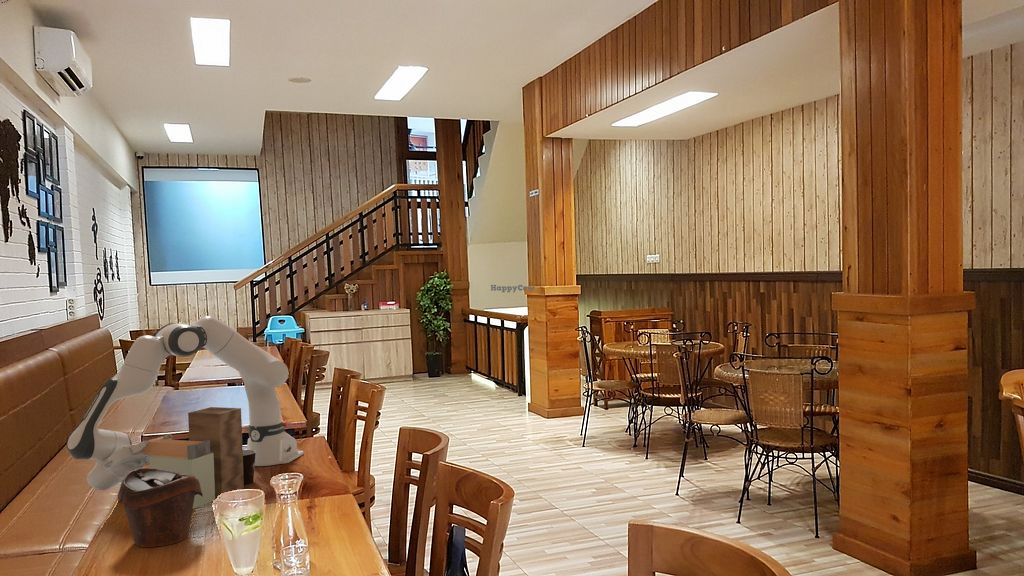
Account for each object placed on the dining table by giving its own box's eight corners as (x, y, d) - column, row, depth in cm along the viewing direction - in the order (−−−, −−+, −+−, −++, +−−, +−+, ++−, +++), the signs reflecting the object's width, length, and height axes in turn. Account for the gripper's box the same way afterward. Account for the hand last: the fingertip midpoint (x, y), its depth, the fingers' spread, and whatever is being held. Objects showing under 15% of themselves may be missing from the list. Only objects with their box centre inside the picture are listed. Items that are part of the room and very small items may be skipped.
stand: (213, 486, 237) (210, 407, 237) (243, 488, 233) (241, 408, 233) (191, 495, 228) (188, 412, 227) (222, 497, 224) (219, 414, 224)
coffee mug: (247, 486, 235) (246, 456, 235) (223, 486, 237) (222, 455, 237) (266, 477, 246) (265, 447, 246) (243, 476, 248) (242, 447, 248)
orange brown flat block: (158, 450, 228) (158, 437, 228) (210, 453, 221) (209, 440, 221) (138, 456, 220) (137, 443, 220) (190, 459, 214) (190, 446, 214)
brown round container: (199, 545, 183) (197, 474, 183) (111, 557, 177) (108, 483, 177) (208, 524, 200) (205, 459, 200) (128, 534, 194) (125, 467, 194)
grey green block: (173, 496, 227) (172, 450, 227) (215, 499, 222) (213, 452, 221) (150, 505, 218) (149, 457, 218) (193, 509, 213) (191, 460, 213)
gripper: (96, 458, 217) (126, 437, 213) (150, 443, 236) (178, 423, 233) (104, 477, 216) (135, 456, 212) (158, 460, 236) (187, 441, 232)
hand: (158, 439), depth 223 cm, fingers open, 8 cm apart
